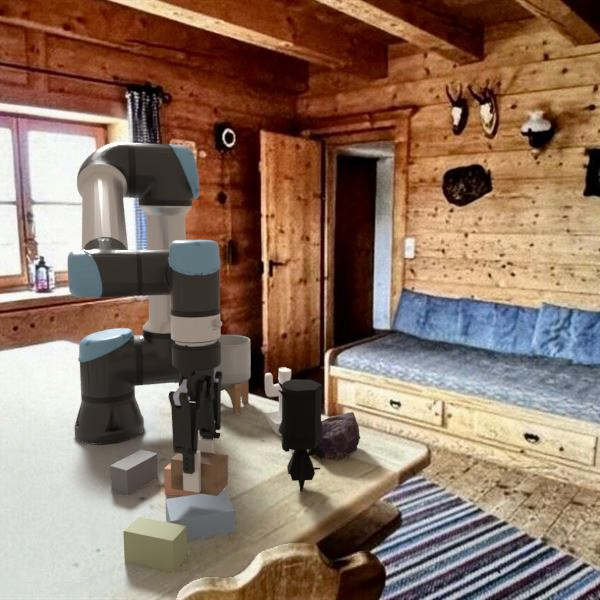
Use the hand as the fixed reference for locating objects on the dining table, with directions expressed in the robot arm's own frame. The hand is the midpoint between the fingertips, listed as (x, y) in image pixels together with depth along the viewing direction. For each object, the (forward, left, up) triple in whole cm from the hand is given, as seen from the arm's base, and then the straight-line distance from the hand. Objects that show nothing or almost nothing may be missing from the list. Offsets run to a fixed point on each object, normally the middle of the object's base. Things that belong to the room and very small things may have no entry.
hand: (199, 483), depth 91 cm
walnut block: (0, 0, -1) cm, 1 cm away
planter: (-20, +53, -8) cm, 57 cm away
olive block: (-2, -10, -8) cm, 13 cm away
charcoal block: (-18, +9, -8) cm, 22 cm away
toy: (+12, +17, -8) cm, 22 cm away
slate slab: (0, 0, -8) cm, 8 cm away
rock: (+15, +34, -8) cm, 37 cm away
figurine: (0, +42, -8) cm, 43 cm away
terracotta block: (-7, +10, -8) cm, 14 cm away
